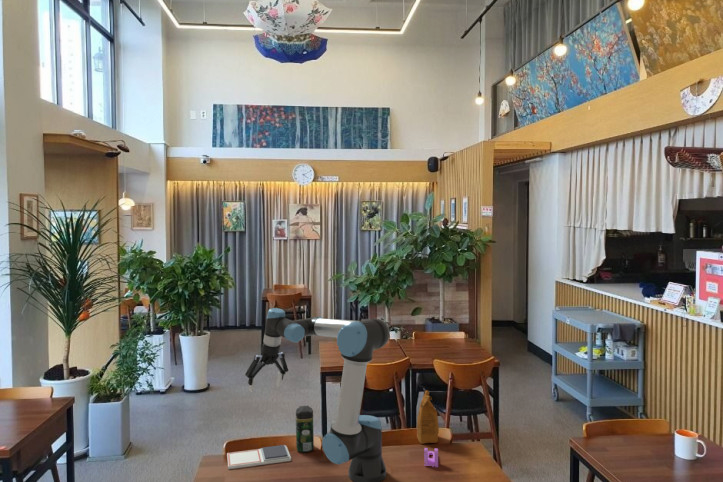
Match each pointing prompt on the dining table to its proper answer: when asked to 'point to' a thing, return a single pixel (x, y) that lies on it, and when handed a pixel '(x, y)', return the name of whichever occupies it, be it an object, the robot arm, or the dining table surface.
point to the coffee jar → (304, 429)
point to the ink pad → (274, 452)
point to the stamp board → (250, 459)
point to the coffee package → (427, 421)
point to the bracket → (433, 460)
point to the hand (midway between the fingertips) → (264, 389)
